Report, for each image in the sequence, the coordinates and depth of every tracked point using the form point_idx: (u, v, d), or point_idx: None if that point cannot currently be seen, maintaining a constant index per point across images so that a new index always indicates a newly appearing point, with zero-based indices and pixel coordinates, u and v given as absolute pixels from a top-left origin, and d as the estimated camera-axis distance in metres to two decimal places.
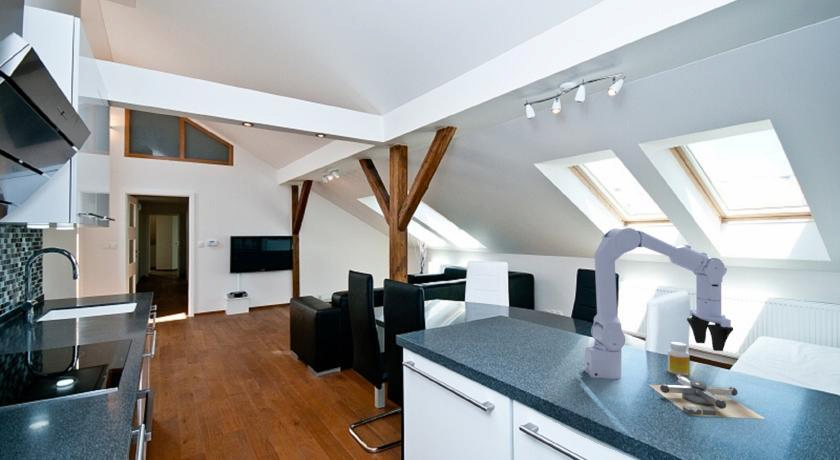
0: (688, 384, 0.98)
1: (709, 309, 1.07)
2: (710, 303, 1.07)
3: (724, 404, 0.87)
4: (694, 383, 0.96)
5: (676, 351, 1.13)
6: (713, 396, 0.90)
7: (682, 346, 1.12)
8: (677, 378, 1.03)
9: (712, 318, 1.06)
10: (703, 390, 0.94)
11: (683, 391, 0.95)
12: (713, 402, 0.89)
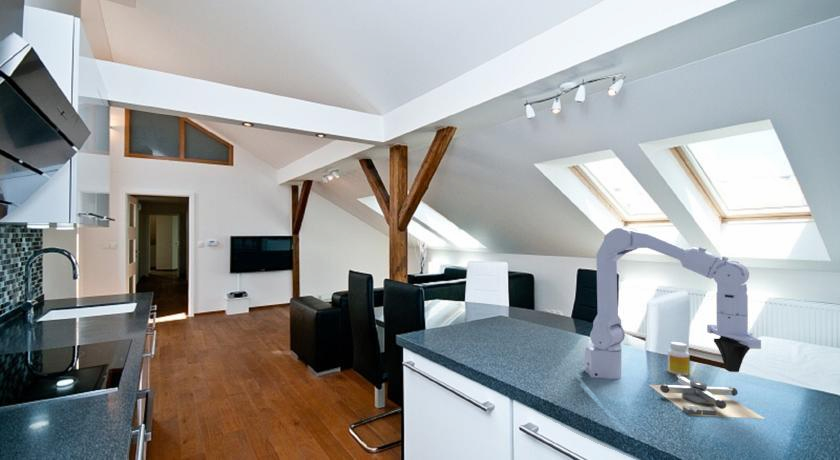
0: (688, 384, 0.98)
1: (734, 326, 0.88)
2: (734, 318, 0.88)
3: (724, 404, 0.87)
4: (694, 383, 0.96)
5: (676, 351, 1.13)
6: (713, 396, 0.90)
7: (682, 346, 1.12)
8: (677, 378, 1.03)
9: (737, 337, 0.86)
10: (703, 390, 0.94)
11: (683, 391, 0.95)
12: (713, 402, 0.89)
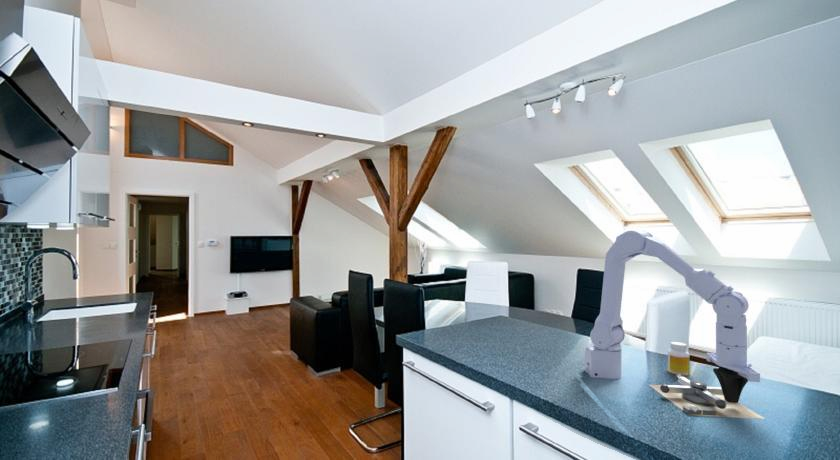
0: (688, 384, 0.98)
1: (733, 357, 0.88)
2: (733, 350, 0.88)
3: (724, 404, 0.87)
4: (694, 383, 0.96)
5: (676, 351, 1.13)
6: (713, 396, 0.90)
7: (682, 346, 1.12)
8: (677, 378, 1.03)
9: (736, 369, 0.87)
10: (703, 390, 0.94)
11: (683, 391, 0.95)
12: (713, 402, 0.89)
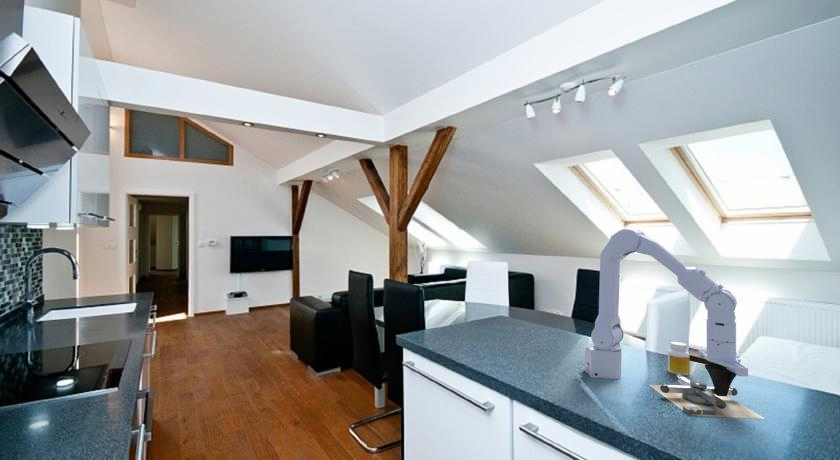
0: (688, 384, 0.98)
1: (722, 353, 0.92)
2: (723, 346, 0.92)
3: (724, 404, 0.87)
4: (694, 383, 0.96)
5: (676, 351, 1.13)
6: (713, 396, 0.90)
7: (682, 346, 1.12)
8: (677, 378, 1.03)
9: (726, 364, 0.90)
10: (703, 390, 0.94)
11: (683, 391, 0.95)
12: (713, 402, 0.89)
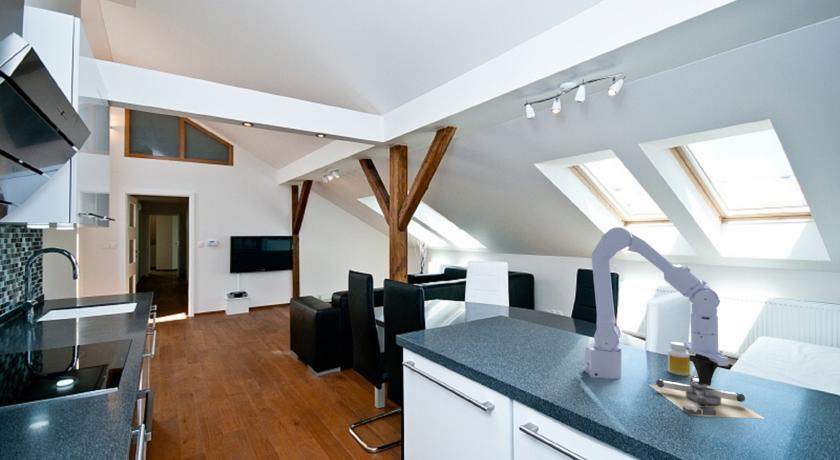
0: (684, 387, 0.96)
1: (705, 344, 0.98)
2: (706, 338, 0.98)
3: None
4: (698, 384, 0.95)
5: (676, 351, 1.13)
6: (726, 392, 0.93)
7: (682, 346, 1.12)
8: (663, 384, 0.99)
9: (708, 355, 0.96)
10: (708, 389, 0.95)
11: None
12: (732, 398, 0.92)
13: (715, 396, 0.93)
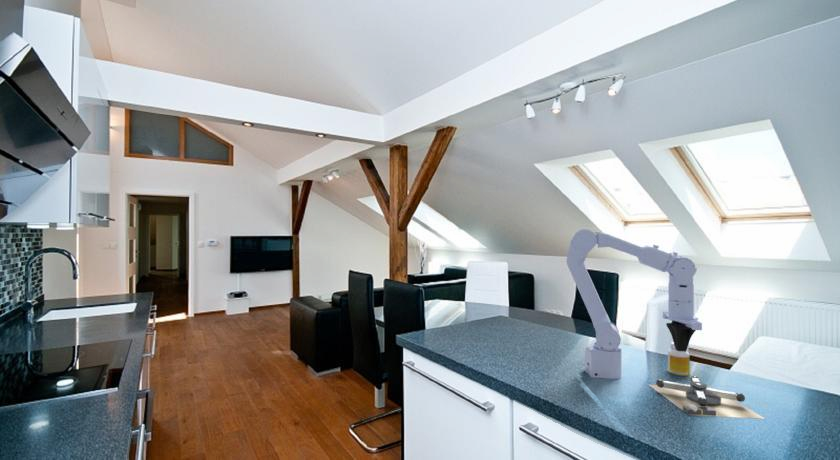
0: (684, 387, 0.96)
1: (681, 311, 1.02)
2: (682, 305, 1.02)
3: None
4: (698, 384, 0.95)
5: (676, 351, 1.13)
6: (726, 392, 0.93)
7: None
8: (663, 384, 0.99)
9: (683, 321, 1.01)
10: (708, 389, 0.95)
11: None
12: (732, 398, 0.92)
13: (715, 396, 0.93)
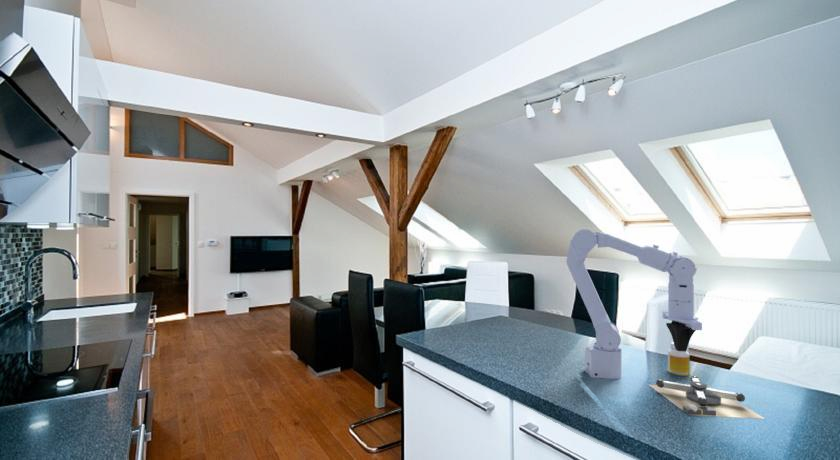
0: (684, 387, 0.96)
1: (681, 311, 1.02)
2: (682, 305, 1.02)
3: None
4: (698, 384, 0.95)
5: (676, 351, 1.13)
6: (726, 392, 0.93)
7: None
8: (663, 384, 0.99)
9: (683, 321, 1.01)
10: (708, 389, 0.95)
11: None
12: (732, 398, 0.92)
13: (715, 396, 0.93)
